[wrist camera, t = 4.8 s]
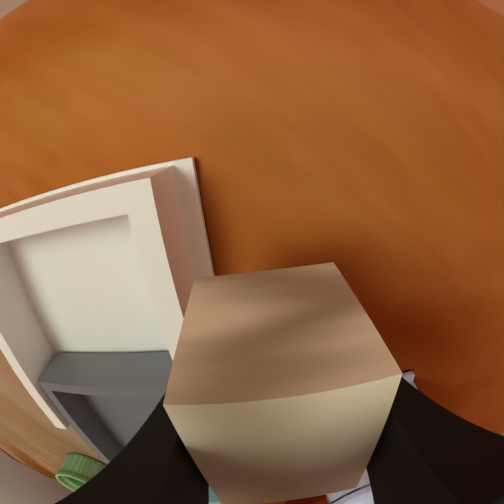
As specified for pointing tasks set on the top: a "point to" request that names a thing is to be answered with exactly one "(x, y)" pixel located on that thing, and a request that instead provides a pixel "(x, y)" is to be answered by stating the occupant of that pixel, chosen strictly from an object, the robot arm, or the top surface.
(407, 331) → the top surface
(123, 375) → the tray
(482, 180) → the top surface
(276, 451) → the block
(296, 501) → the onion
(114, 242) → the housing
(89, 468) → the ramekin
